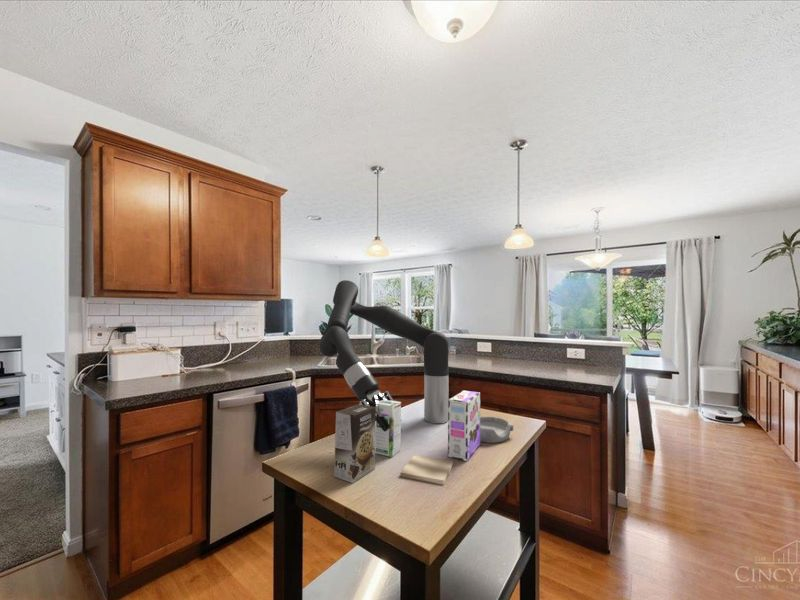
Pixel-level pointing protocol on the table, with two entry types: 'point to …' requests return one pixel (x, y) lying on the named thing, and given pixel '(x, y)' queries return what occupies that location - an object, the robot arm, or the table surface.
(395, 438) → the syrup box
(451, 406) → the candy box
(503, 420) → the dish
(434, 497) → the table surface
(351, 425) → the grey cardboard box
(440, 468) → the maple board
